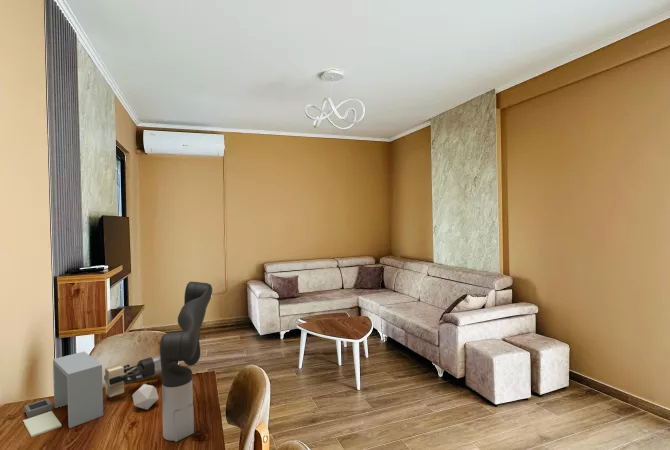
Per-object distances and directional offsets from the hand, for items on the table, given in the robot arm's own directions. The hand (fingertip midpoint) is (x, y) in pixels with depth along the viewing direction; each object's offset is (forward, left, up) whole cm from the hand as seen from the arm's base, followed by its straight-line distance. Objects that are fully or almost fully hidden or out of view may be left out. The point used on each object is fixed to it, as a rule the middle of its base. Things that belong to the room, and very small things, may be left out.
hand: (107, 380), depth 140 cm
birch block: (0, -3, -6) cm, 7 cm away
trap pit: (+11, +19, -8) cm, 24 cm away
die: (-16, -8, -9) cm, 20 cm away
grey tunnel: (0, +10, -8) cm, 13 cm away
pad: (0, +20, -8) cm, 22 cm away
